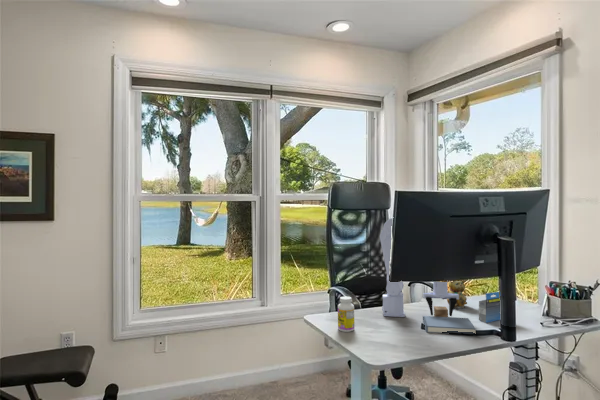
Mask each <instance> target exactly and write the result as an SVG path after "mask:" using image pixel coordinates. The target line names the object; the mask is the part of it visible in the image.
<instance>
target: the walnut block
mask: <svg viewBox="0 0 600 400" xmlns="http://www.w3.org/2000/svg"><path fill="white" fill-rule="evenodd" d="M433 316H435V317H449V309H448V307H447V306H438V305H437V306H436V305H434V306H433Z"/></svg>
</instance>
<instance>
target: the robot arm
mask: <svg viewBox="0 0 600 400" xmlns="http://www.w3.org/2000/svg"><path fill="white" fill-rule="evenodd" d="M392 218H393V217H390V218H388V219H387V220H386V221H385V222H384V224H383V227H382V229H381V231H380V234H379V241H380V245H381V251H382V255H383V260H384V261H383V262H384V265H385V272H386V287H385V290H386V294H382V307H381V308H382V309H381V310H382V316H383V317H394V318H395V317H396V318H397V317H399V318H405V317H406V313H405V309H404V293H403V292H402V290H403V289H404V282H403V281H402V282H390V281H389V261H390V249H391V240H392V238H391V226H392ZM432 285H433V287H432V289H433V290H432V291H433V292H422V298H423V299H425V300H426V302H427V305H428V309H429V312H430V316H434V308H433V303H434V302H433V299H441V300H442V299H445V300H447V299H449V304H448V307H449V309H448V316H449V317H453V311H454V309H455V308H454V306H455V304H456V302H457V300H456V299H459V295H458V294H452V293H448V291H449V290H448V281H447V282H433V283H432Z"/></svg>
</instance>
